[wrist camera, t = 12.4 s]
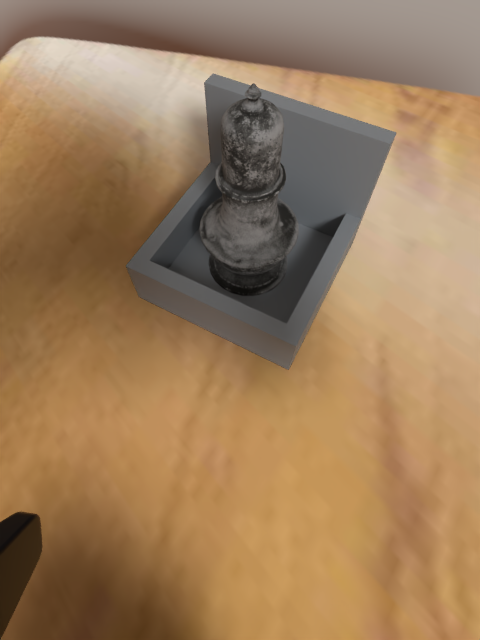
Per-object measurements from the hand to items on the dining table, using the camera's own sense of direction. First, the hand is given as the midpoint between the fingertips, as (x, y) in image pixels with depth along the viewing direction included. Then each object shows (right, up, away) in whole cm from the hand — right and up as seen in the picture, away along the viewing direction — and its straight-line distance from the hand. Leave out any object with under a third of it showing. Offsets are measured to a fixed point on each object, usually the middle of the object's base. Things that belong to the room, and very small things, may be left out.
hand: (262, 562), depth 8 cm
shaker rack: (0, +8, +20) cm, 21 cm away
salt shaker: (0, +8, +19) cm, 21 cm away
